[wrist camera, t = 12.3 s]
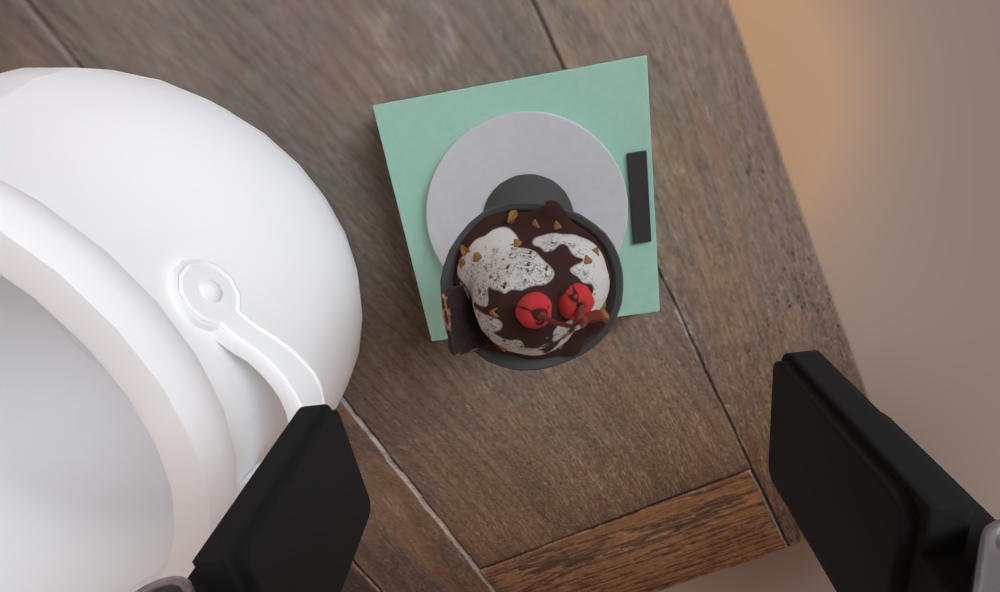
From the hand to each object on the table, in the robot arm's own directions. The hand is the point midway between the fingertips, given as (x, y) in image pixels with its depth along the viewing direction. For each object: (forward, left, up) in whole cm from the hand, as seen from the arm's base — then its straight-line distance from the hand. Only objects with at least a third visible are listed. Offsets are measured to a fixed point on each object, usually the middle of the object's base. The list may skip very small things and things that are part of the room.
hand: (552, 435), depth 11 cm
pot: (+22, +1, -21) cm, 31 cm away
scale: (0, 0, -21) cm, 21 cm away
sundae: (0, 0, -18) cm, 18 cm away
